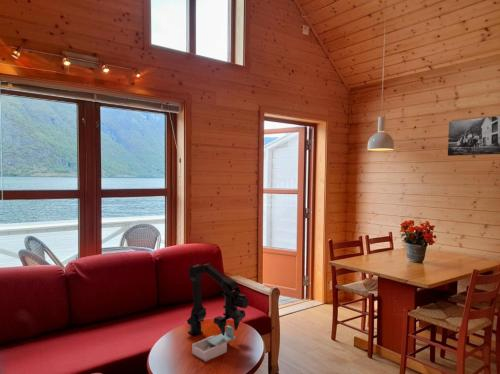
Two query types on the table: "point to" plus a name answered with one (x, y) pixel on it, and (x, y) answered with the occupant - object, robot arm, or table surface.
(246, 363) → the table surface
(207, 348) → the parts tub
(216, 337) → the lid
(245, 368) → the table surface
